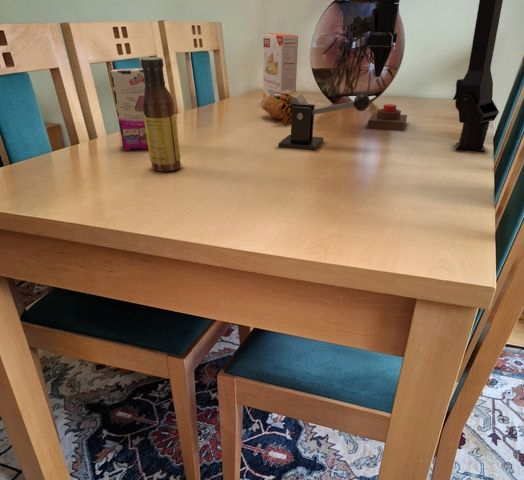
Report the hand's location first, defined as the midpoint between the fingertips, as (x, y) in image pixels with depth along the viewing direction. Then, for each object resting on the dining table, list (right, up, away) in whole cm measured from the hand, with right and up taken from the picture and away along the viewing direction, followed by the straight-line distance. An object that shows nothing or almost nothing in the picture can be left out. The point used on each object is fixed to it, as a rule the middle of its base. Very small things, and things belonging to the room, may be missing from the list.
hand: (377, 76), depth 122 cm
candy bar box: (-59, -23, -10) cm, 64 cm away
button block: (+6, -7, +13) cm, 16 cm away
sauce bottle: (-51, -34, -25) cm, 66 cm away
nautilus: (-25, -3, +17) cm, 30 cm away
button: (+6, -4, +11) cm, 13 cm away
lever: (-14, -17, -13) cm, 26 cm away
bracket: (-21, -21, -7) cm, 31 cm away
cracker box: (-25, +12, +38) cm, 47 cm away
